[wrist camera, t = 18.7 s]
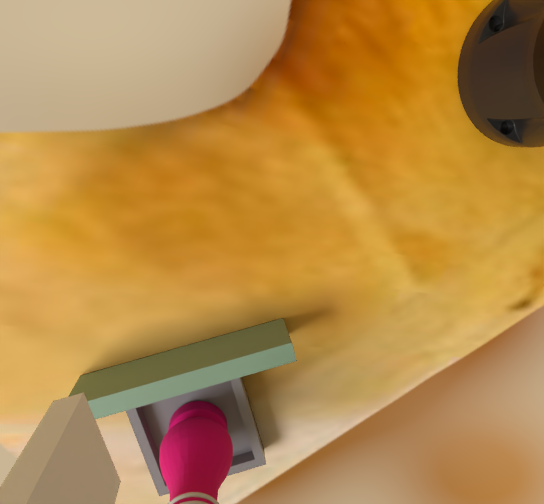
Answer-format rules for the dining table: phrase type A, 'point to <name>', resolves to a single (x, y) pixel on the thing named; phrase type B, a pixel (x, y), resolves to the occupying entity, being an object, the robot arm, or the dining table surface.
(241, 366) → the board
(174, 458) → the pepper mill
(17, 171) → the dining table surface
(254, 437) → the tray
